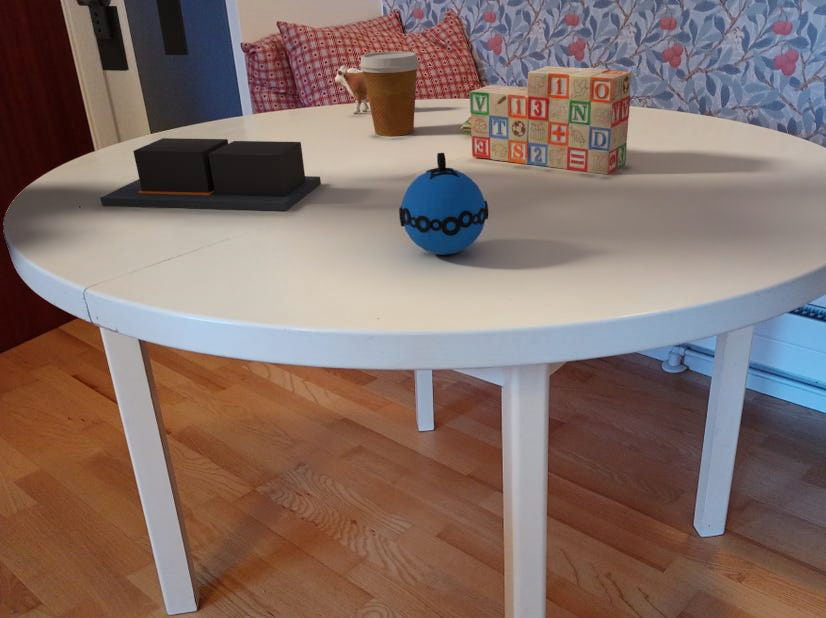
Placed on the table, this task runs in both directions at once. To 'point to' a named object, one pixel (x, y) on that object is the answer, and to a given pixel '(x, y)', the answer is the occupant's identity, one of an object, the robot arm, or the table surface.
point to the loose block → (177, 165)
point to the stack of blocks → (555, 119)
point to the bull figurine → (354, 85)
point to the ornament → (443, 210)
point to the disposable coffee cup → (391, 90)
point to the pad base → (207, 201)
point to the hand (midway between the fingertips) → (148, 62)
